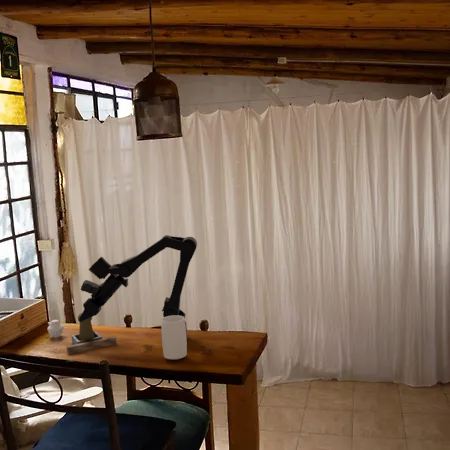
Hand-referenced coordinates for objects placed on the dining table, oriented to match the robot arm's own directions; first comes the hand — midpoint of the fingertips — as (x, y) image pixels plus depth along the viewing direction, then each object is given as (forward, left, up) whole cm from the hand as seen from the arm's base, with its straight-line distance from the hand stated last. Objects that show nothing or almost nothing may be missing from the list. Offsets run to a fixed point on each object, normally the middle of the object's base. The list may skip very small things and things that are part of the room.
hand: (82, 317), depth 210 cm
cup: (-31, +28, -10) cm, 43 cm away
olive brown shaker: (-1, 0, -10) cm, 10 cm away
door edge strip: (-3, +7, -10) cm, 13 cm away
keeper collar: (-1, 0, -10) cm, 10 cm away
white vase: (+11, -12, -10) cm, 19 cm away
